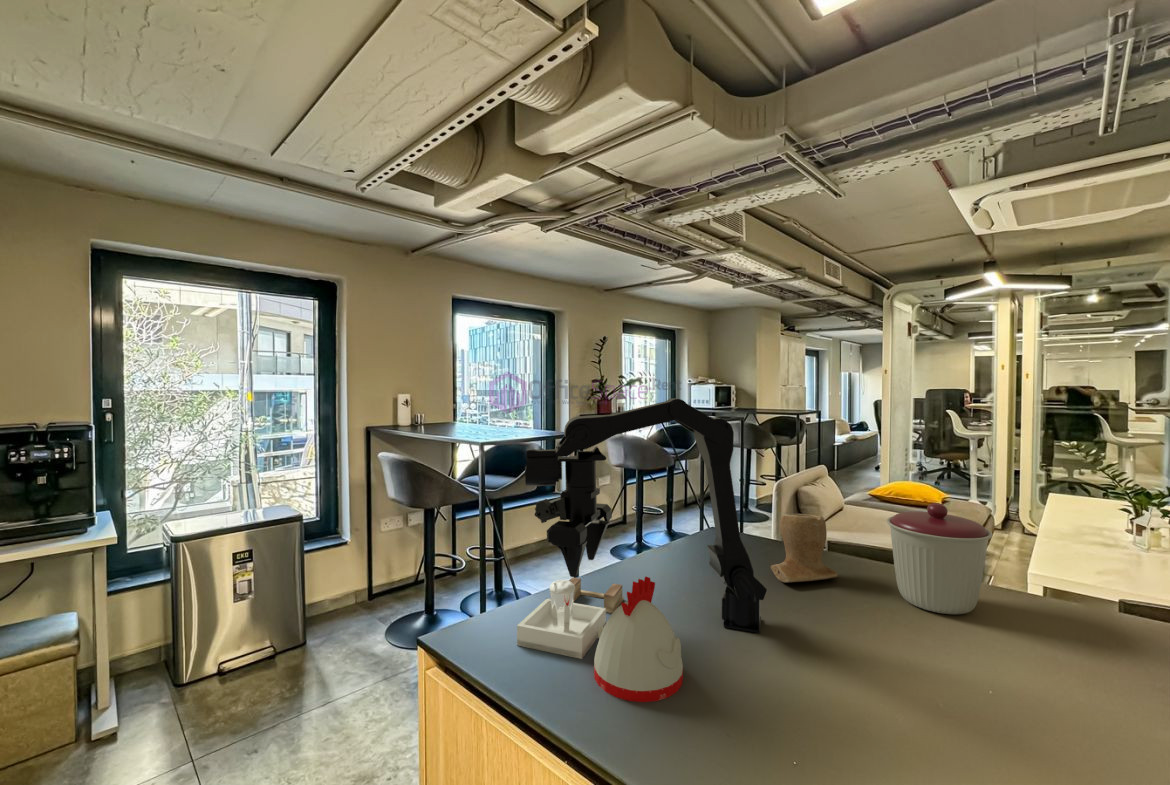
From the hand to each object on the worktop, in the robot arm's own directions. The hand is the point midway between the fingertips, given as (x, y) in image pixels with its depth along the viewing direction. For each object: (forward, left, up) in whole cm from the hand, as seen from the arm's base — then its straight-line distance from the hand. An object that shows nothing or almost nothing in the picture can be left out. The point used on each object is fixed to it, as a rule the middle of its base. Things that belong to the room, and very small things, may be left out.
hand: (582, 567), depth 96 cm
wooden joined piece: (+2, -11, -11) cm, 16 cm away
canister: (-65, -37, -12) cm, 76 cm away
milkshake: (+2, +5, -11) cm, 12 cm away
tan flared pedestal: (-39, -43, -12) cm, 59 cm away
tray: (+2, +4, -11) cm, 12 cm away
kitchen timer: (-14, +11, -12) cm, 21 cm away
